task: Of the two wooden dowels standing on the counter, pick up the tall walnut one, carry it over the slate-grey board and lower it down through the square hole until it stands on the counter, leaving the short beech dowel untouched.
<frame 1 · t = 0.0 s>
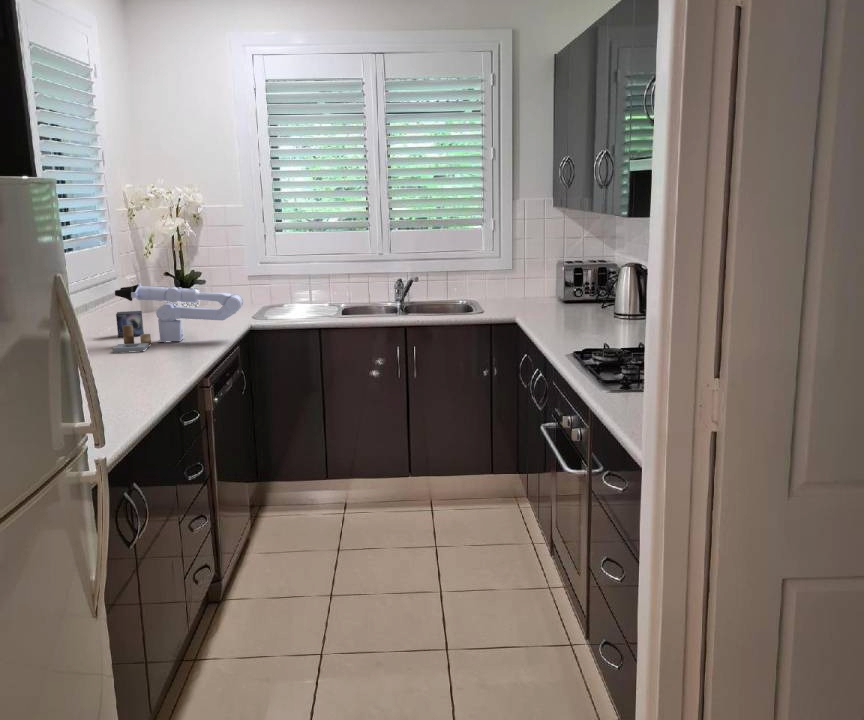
hand: (117, 291, 341), 22 cm above the worktop, tool horizontal, fingers open, 7 cm apart
board: (131, 350, 329), on the worktop
short dowel: (146, 345, 339), on the worktop
small box: (131, 336, 361), on the worktop
long dowel: (129, 344, 341), on the worktop
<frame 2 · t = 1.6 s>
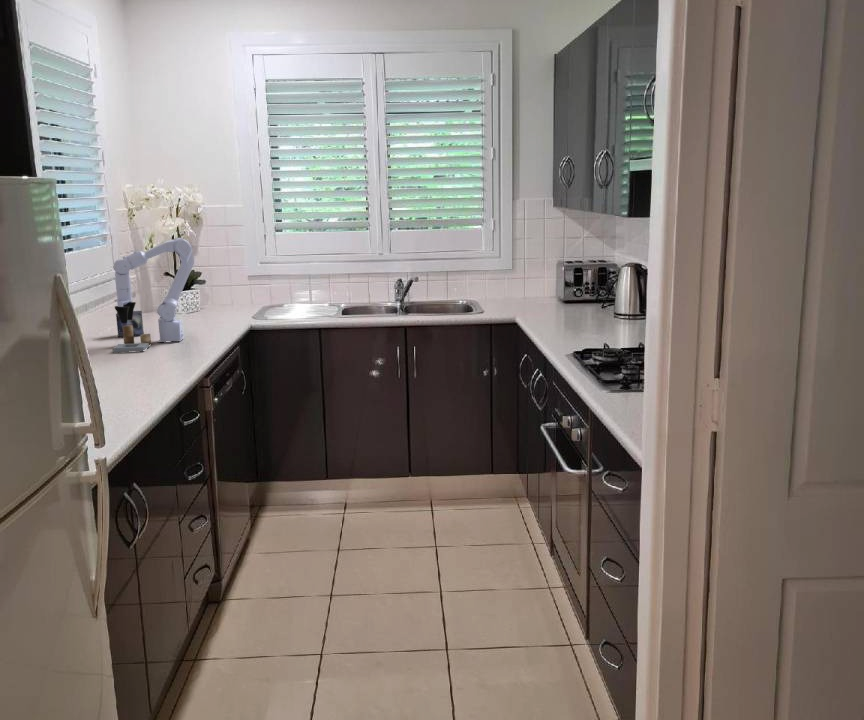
hand: (127, 321, 339), 10 cm above the worktop, tool pointing down, fingers open, 7 cm apart
nothing on the worktop moved.
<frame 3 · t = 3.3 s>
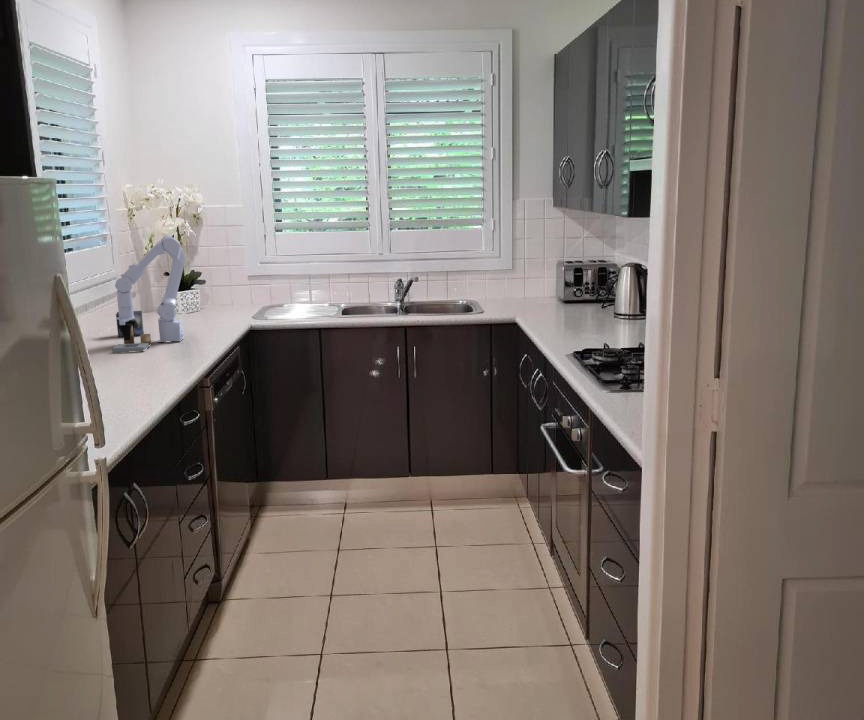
hand: (128, 339, 340), 2 cm above the worktop, tool pointing down, fingers closed on long dowel, 4 cm apart
long dowel: (129, 344, 341), on the worktop, touching gripper
everything else where it was.
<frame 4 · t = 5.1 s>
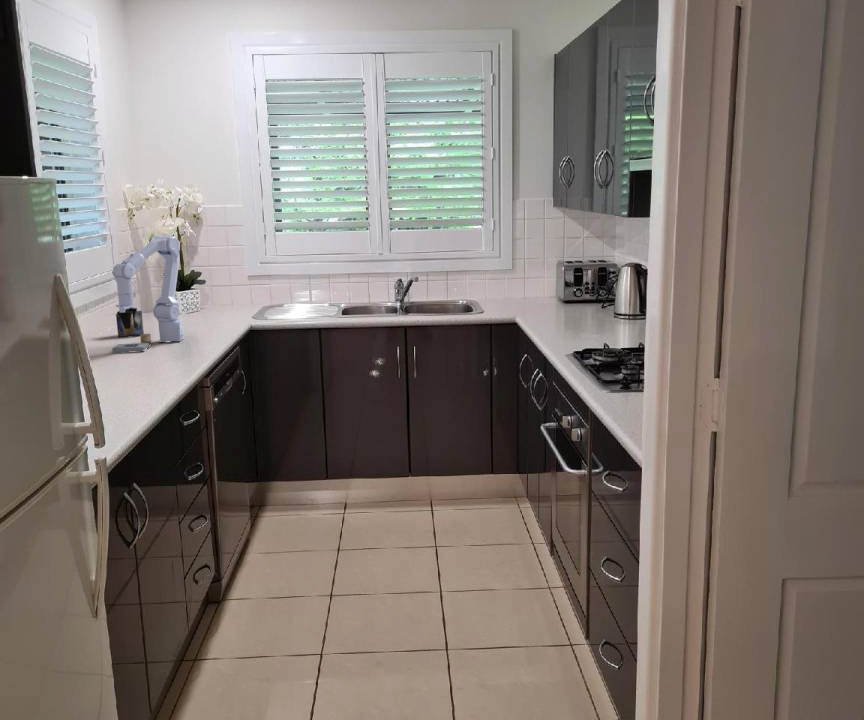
hand: (129, 327, 327), 9 cm above the worktop, tool pointing down, fingers closed on long dowel, 4 cm apart
long dowel: (129, 333, 328), point 7 cm above the worktop, touching gripper
everything else where it was.
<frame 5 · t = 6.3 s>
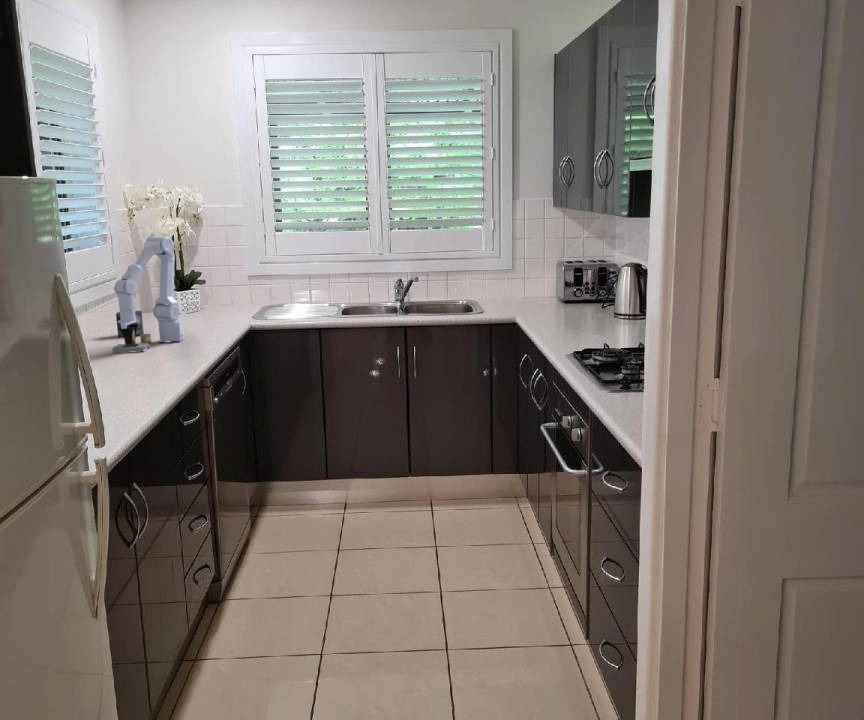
hand: (130, 343, 329), 3 cm above the worktop, tool pointing down, fingers closed on long dowel, 4 cm apart
long dowel: (130, 349, 329), resting in board, touching gripper
everything else where it was.
when the fingers open (3 cm above the worktop, at t = 7.1 s): long dowel stays where it is, resting in board.
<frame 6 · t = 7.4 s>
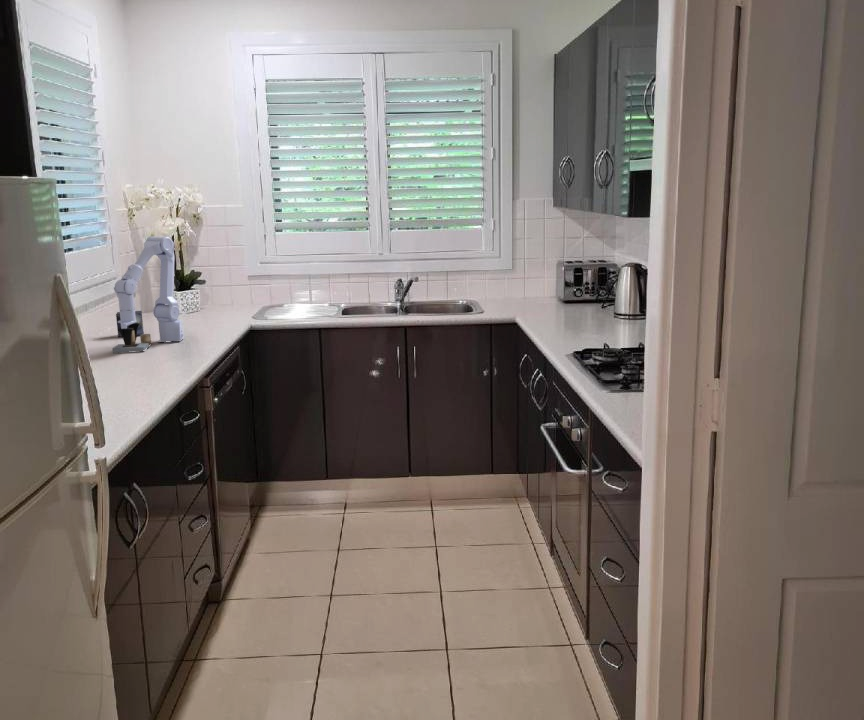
hand: (130, 343, 329), 3 cm above the worktop, tool pointing down, fingers open, 7 cm apart
long dowel: (131, 350, 329), resting in board
everything else where it was.
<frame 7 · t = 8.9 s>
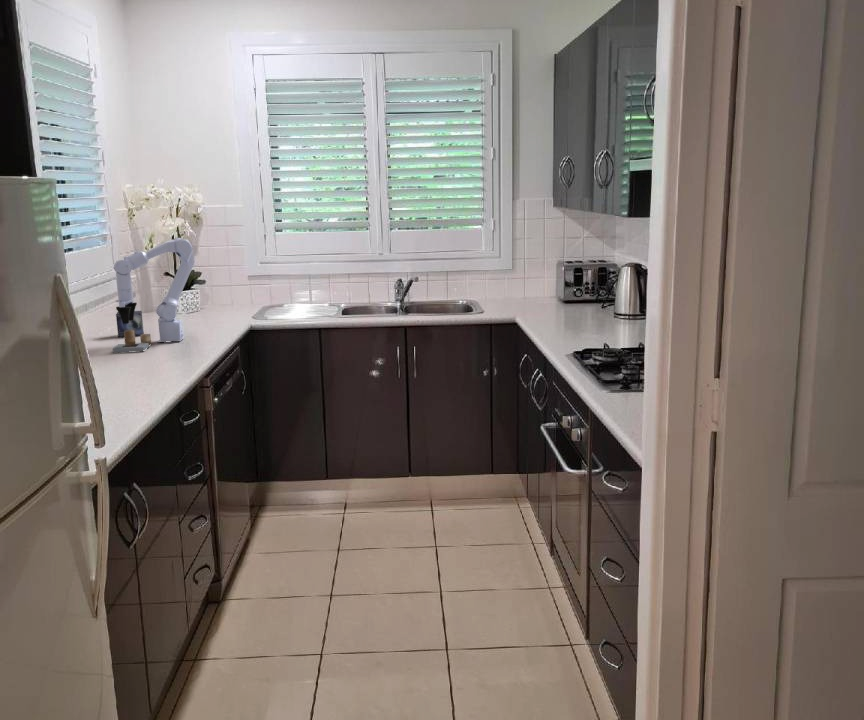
hand: (128, 321, 338), 10 cm above the worktop, tool pointing down, fingers open, 7 cm apart
nothing on the worktop moved.
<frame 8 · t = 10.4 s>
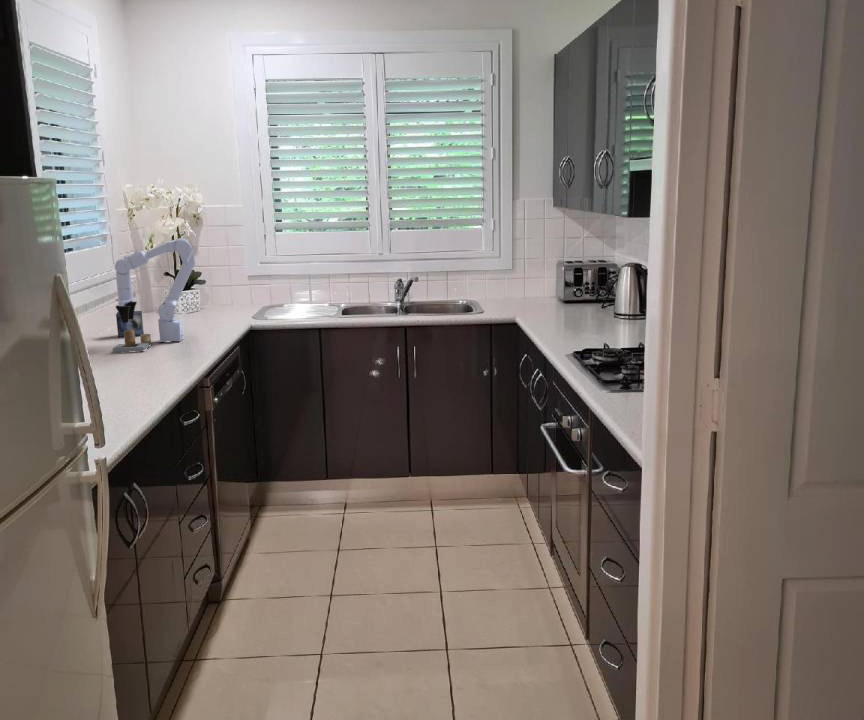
hand: (128, 320, 340), 10 cm above the worktop, tool pointing down, fingers open, 7 cm apart
nothing on the worktop moved.
at the end: long dowel 0.2 cm off-centre on the board, point 0.0 cm above the board's base; long dowel tilted 0°; the gripper is holding nothing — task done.
